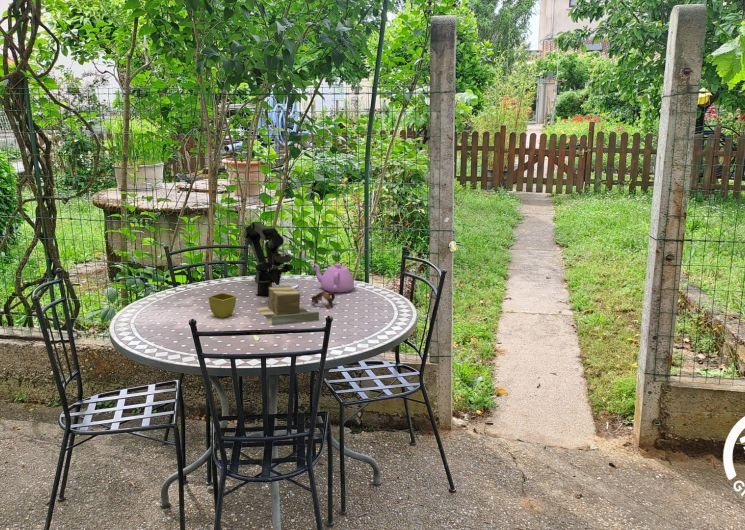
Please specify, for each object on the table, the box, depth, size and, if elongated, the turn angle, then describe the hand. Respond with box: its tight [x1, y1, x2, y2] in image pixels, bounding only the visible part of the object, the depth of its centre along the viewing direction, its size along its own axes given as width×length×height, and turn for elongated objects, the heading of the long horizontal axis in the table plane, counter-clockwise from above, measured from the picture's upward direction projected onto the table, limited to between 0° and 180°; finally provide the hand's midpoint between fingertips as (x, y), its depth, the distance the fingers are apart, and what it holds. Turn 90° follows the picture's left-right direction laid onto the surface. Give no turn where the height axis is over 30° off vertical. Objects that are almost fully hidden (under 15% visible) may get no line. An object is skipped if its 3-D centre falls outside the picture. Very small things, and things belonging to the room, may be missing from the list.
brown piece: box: [310, 290, 336, 310], centre depth 309 cm, size 12×9×8 cm
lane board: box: [255, 304, 320, 326], centre depth 293 cm, size 26×21×4 cm
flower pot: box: [208, 292, 237, 319], centre depth 287 cm, size 9×9×9 cm
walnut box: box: [268, 284, 301, 316], centre depth 295 cm, size 14×10×10 cm
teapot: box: [312, 262, 355, 293], centre depth 337 cm, size 22×22×14 cm
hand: (277, 284), depth 305 cm, fingers closed
